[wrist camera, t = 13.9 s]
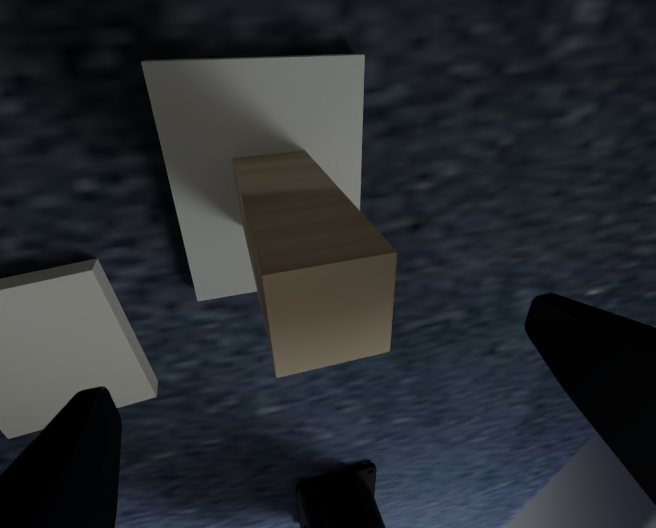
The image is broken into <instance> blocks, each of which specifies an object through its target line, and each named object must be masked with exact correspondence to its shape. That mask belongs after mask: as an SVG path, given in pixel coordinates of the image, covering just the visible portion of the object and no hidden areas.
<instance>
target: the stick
mask: <svg viewBox="0 0 656 528" xmlns="http://www.w3.org/2000/svg"><path fill="white" fill-rule="evenodd" d="M232 161H233V168H234V174H235V180H236V186H237V193H238V199H239V205H240V211H241V218H242V224H243V229H244V234H245V238H246V243H247V247H248V252H249V256H250V261H251V265H252V270H253V274H254V279H255V283H256V288H257V292H258V297H259V301H260V306H261V310H262V315H263V319H264V324H265V328H266V333H267V337H268V342H269V346H270V351H271V355H272V360H273V365H274V369H275V374H276V378H279V377H283V376H287V375H292V374H296V373H300V372H304V371H309V370H313V369H317V368H321V367H326V366H330V365H334V364H339V363H343V362H347V361H351V360H356V359H360V358H364V357H368V356H373V355H377V354H381V353H385V352H390V341H391V327H392V314H393V301H394V287H395V274H396V260H397V251H396V250H395V249H394V248H393V247H392V246H391V245H390V244H389V243H388V242H387V240H386V239H385V238H384V237H383V236H382V235H381V234H380V233H379V232H378V230H377V229H376V228H375V227H374V226H373V225H372V224H371V223H370V222H369V220H368V219H367V218H366V217H365V216H364V215H363V214H362V213H361V212H360V211H359V209H358V208H357V207H356V206H355V205H354V204H353V203H352V202H351V201H350V199H349V198H348V197H347V196H346V195H345V194H344V193H343V192H342V191H341V189H340V188H339V187H338V186H337V185H336V184H335V183H334V182H333V181H332V180H331V178H330V177H329V176H328V175H327V174H326V173H325V172H324V171H323V170H322V168H321V167H320V166H319V165H318V164H317V163H316V162H315V161H314V160H313V158H312V157H311V156H310V155H309V154H308V153H307V152H306V151H297V152H287V153H278V154H268V155H259V156H249V157H240V158H232Z"/></svg>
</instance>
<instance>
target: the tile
mask: <svg viewBox="0 0 656 528" xmlns="http://www.w3.org/2000/svg"><path fill="white" fill-rule="evenodd" d="M99 386H104V387H106V388H107V389H108V390H109V392H110V394H111V397H112V399H113V401H114V403H115V405H116V408H119V407H123V406H126V405H130V404H133V403H137V402H140V401H144V400H147V399H151V398H154V397H156V396H157V387H158V380H157V378H156V376H155V374H154V372H153V370H152V368H151V366H150V364H149V362H148V360H147V358H146V356H145V354H144V352H143V350H142V348H141V346H140V344H139V342H138V340H137V338H136V336H135V334H134V332H133V330H132V328H131V326H130V324H129V322H128V319H127V317H126V315H125V313H124V311H123V309H122V307H121V305H120V303H119V301H118V299H117V297H116V295H115V293H114V291H113V289H112V287H111V285H110V283H109V281H108V279H107V277H106V275H105V273H104V271H103V269H102V267H101V265H100V263H99V261H98V259H92V260H87V261H83V262H78V263H73V264H68V265H64V266H59V267H54V268H49V269H44V270H40V271H35V272H30V273H25V274H21V275H16V276H11V277H6V278H1V279H0V430H1V431H2V432H3V434H4V435H5V436H6V437H7V438H8V439H10V438H14V437H17V436H21V435H25V434H28V433H32V432H35V431H39V430H42V429H44V428H45V427H46V425H47V424H48V423H49V422H50V421H51V420H52V419H53V418H54V417H55V416H56V415H57V414H58V412H59V411H60V410H61V409H62V408H63V407H64V406H65V405H66V404H67V403H68V402H69V400H70V399H71V398H72V397H73V396H74V395H75V394H76V393H77V392H79V391H81V390H84V389H89V388H94V387H99Z"/></svg>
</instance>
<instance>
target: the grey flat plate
mask: <svg viewBox="0 0 656 528" xmlns="http://www.w3.org/2000/svg"><path fill="white" fill-rule="evenodd" d="M364 57H365V55H362V54H331V55H299V56H267V57H234V58H202V59H170V60H144V61H142V62H141V64H142V68H143V72H144V77H145V81H146V85H147V89H148V93H149V98H150V102H151V106H152V110H153V115H154V119H155V123H156V127H157V132H158V136H159V140H160V144H161V148H162V153H163V157H164V161H165V165H166V170H167V174H168V178H169V182H170V187H171V191H172V195H173V199H174V203H175V208H176V212H177V216H178V220H179V225H180V229H181V233H182V237H183V242H184V246H185V250H186V254H187V258H188V263H189V267H190V271H191V275H192V280H193V284H194V288H195V292H196V297H197V301H203V300H209V299H215V298H220V297H226V296H232V295H238V294H244V293H250V292H256V291H257V288H256V283H255V279H254V274H253V270H252V265H251V261H250V256H249V252H248V247H247V243H246V238H245V234H244V229H243V224H242V218H241V211H240V205H239V199H238V193H237V186H236V180H235V174H234V168H233V161H232V158H240V157H249V156H259V155H268V154H278V153H287V152H297V151H306V152H307V153H308V154H309V155H310V156H311V157H312V158H313V160H314V161H315V162H316V163H317V164H318V165H319V166H320V167H321V168H322V170H323V171H324V172H325V173H326V174H327V175H328V176H329V177H330V178H331V180H332V181H333V182H334V183H335V184H336V185H337V186H338V187H339V188H340V189H341V191H342V192H343V193H344V194H345V195H346V196H347V197H348V198H349V199H350V201H351V202H352V203H353V204H354V205H355V206H356V207H357V208H358V209H359V211H360V188H361V155H362V122H363V90H364Z"/></svg>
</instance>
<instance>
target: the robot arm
mask: <svg viewBox="0 0 656 528" xmlns="http://www.w3.org/2000/svg"><path fill="white" fill-rule="evenodd" d="M525 331H526V333H527V335H528V337H529V338H530V340H531V341H532V343H533V344H534V346H535V347H536V349H537V350H538V352H539V353H540V355H541V356H542V358H543V359H544V361H545V362H546V364H547V365H548V367H549V368H550V370H551V371H552V373H553V375H554V376H555V378H556V379H557V381H558V382H559V383H560V385H561V386H562V388H563V389H564V391H565V392H566V393H567V395H568V396H569V397H570V399H571V400H572V401H573V402H574V404H575V405H576V406H577V407H578V409H579V410H580V411H581V412H582V414H583V415H584V416H585V417H586V419H587V420H588V421H589V422H590V424H591V425H592V426H593V428H594V429H595V430H596V431H597V433H598V434H599V435H600V436H601V438H602V439H603V440H604V441H605V443H606V444H607V445H608V446H609V448H610V449H611V450H612V451H613V453H614V454H615V455H616V456H617V458H618V459H619V460H620V462H621V463H622V464H623V465H624V467H625V468H626V469H627V470H628V471H629V473H630V474H631V475H632V477H633V478H634V479H635V480H636V482H637V483H638V484H639V485H640V487H641V488H642V489H643V490H644V492H645V493H646V494H647V495H648V497H649V498H650V499H651V500H652V502H653V503H654V504H655V505H656V328H655V327H652V326H649V325H646V324H643V323H640V322H637V321H634V320H631V319H628V318H625V317H622V316H619V315H616V314H613V313H610V312H607V311H605V310H602V309H599V308H596V307H593V306H590V305H587V304H584V303H581V302H578V301H575V300H572V299H569V298H566V297H563V296H560V295H557V294H553V293H549V294H544V295H539V296H536V297H535V298H534V299H533V300H532V302H531V306H530V309H529V312H528V315H527V318H526V321H525ZM121 431H122V424H121V417H120V414H119V412H118V410H117V408H116V405H115V403H114V401H113V399H112V397H111V394H110V392H109V390H108V389H107V388H106V387H104V386H99V387H94V388H89V389H84V390H81V391H79V392H77V393H76V394H75V395H74V396H73V397H72V398H71V399H70V400H69V402H68V403H67V404H66V405H65V406H64V407H63V408H62V409H61V410H60V411H59V412H58V414H57V415H56V416H55V417H54V418H53V419H52V420H51V421H50V422H49V423H48V424H47V425H46V427H45V428H44V429H43V430H42V431H41V432H40V433H39V434H38V435H37V436H36V437H35V439H34V440H33V441H32V442H31V443H30V444H29V445H28V446H27V447H26V448H25V449H24V451H23V452H22V453H21V454H20V455H19V456H18V457H17V458H16V459H15V460H14V461H13V462H12V464H11V465H10V466H9V467H8V468H7V469H6V470H5V471H4V472H3V473H2V474H1V476H0V528H115V521H116V513H117V500H118V483H119V466H120V448H121ZM375 481H376V467H375V464H374V463H368V464H364V465H361V466H357V467H354V468H350V469H347V470H344V471H340V472H337V473H333V474H330V475H326V476H323V477H319V478H316V479H313V480H309V481H306V482H302V483H300V484H298V485H297V486H296V494H297V504H298V513H299V523H300V528H385V525H384V522H383V520H382V517H381V514H380V512H379V509H378V506H377V504H376V501H375V498H374V493H375Z"/></svg>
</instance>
